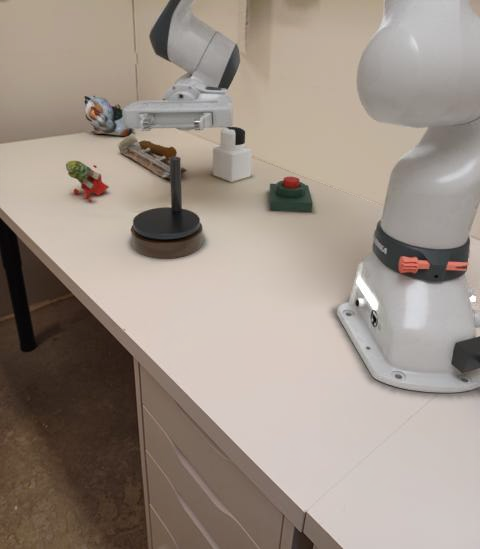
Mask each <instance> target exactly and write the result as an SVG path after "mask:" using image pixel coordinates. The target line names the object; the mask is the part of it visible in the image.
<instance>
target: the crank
mask: <svg viewBox="0 0 480 549" xmlns="http://www.w3.org/2000/svg"><path fill="white" fill-rule="evenodd" d="M168 162H169V163H170V178H169V183H170V205H171V206H170V207H169V206H166V207H156V208H150V209H147V210H143V211H142V212H140V213H137V215H135V216H134V218H133V220H132V225H133V227H134V230H135V231H136V232H137V233H138V234H140V235H142V236H145V237H148V238H153V239H177V238H182V237H186V236H188V235H191V234H193V233H194V232H196V231H197V230H198V229H199V226H200V223H201V219H200V216H199V215H198V214H197V213H196V212H193V211H191V210H190V209H187V208H183V195H182V175H181V167H182V164H181V162H182V161H181V157H179V156H176V157H170V158H169V159H168Z"/></svg>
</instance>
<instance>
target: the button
mask: <svg viewBox="0 0 480 549" xmlns="http://www.w3.org/2000/svg"><path fill="white" fill-rule="evenodd" d="M282 181H283V186H284V187H286V188H299V182H301V180H300V178H298V177H296V176H285V177H283V180H282Z"/></svg>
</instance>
